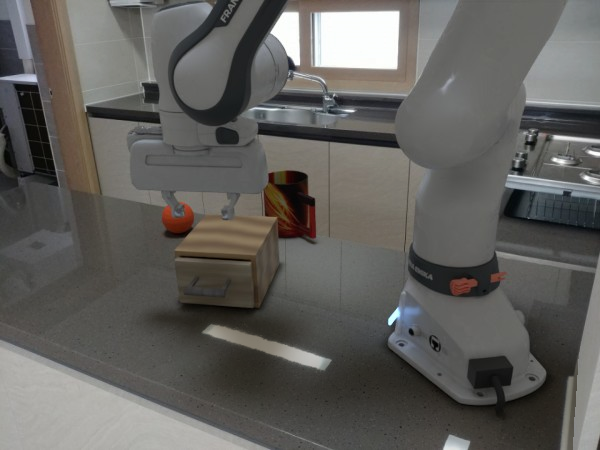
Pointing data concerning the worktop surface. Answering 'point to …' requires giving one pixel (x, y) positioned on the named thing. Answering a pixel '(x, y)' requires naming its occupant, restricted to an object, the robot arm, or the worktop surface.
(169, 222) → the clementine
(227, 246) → the cabinet
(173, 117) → the robot arm
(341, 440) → the worktop surface
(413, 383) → the worktop surface
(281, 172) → the mug
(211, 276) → the drawer
